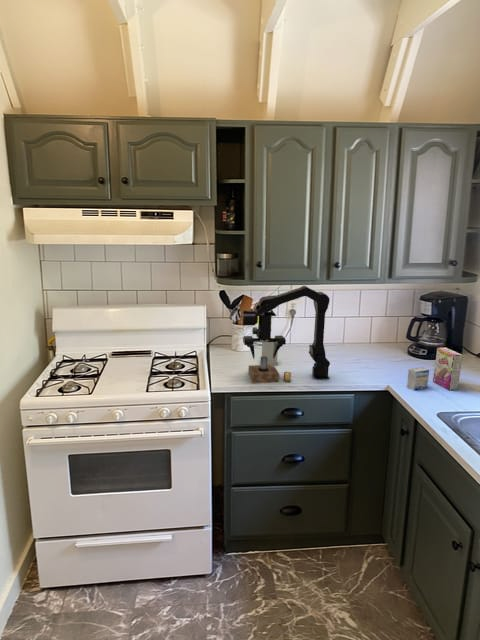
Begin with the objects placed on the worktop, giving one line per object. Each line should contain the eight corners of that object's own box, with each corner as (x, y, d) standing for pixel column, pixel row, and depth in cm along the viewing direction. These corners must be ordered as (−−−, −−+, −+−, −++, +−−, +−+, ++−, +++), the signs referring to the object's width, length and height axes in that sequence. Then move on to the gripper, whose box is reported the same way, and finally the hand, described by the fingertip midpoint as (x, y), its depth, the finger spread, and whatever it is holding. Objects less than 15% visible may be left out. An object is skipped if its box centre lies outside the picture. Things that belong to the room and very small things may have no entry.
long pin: (266, 376, 219) (266, 355, 216) (267, 378, 215) (268, 358, 213) (259, 376, 218) (260, 356, 216) (260, 379, 215) (261, 358, 213)
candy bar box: (432, 381, 216) (436, 347, 212) (441, 380, 218) (445, 346, 214) (448, 390, 206) (453, 355, 202) (458, 389, 207) (463, 354, 203)
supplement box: (275, 366, 233) (276, 341, 230) (261, 364, 234) (261, 340, 231) (277, 361, 240) (278, 337, 237) (263, 360, 241) (264, 336, 238)
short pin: (289, 379, 215) (290, 371, 214) (291, 382, 212) (291, 373, 211) (282, 379, 215) (283, 371, 214) (284, 382, 212) (284, 374, 211)
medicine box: (413, 390, 205) (415, 372, 203) (406, 387, 209) (408, 368, 207) (427, 388, 208) (429, 369, 206) (420, 384, 212) (422, 366, 210)
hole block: (273, 372, 223) (273, 364, 222) (278, 382, 212) (279, 373, 211) (248, 373, 222) (248, 365, 221) (252, 383, 210) (252, 374, 209)
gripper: (281, 320, 220) (279, 352, 224) (241, 321, 217) (240, 353, 221) (286, 326, 209) (285, 360, 213) (245, 327, 206) (244, 361, 210)
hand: (263, 358), depth 214 cm, fingers open, 9 cm apart
